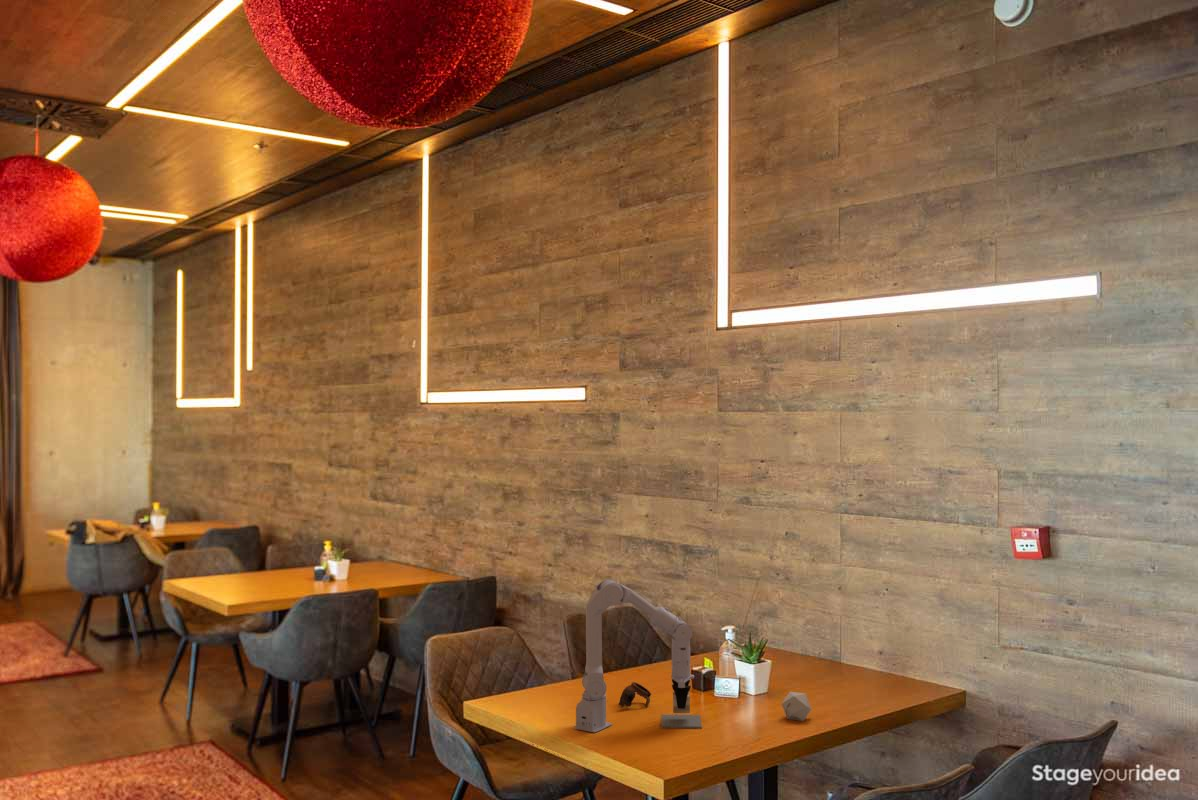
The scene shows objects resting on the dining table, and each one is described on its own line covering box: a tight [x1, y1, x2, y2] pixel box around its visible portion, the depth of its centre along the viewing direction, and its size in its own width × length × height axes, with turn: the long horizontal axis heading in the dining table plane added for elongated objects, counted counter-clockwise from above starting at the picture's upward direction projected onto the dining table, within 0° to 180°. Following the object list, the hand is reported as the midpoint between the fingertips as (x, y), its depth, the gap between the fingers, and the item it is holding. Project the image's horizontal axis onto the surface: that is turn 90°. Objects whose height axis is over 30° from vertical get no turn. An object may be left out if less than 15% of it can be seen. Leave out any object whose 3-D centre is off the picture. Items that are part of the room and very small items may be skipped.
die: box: [781, 691, 813, 722], centre depth 307 cm, size 8×9×10 cm
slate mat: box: [661, 714, 703, 730], centre depth 303 cm, size 12×12×1 cm
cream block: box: [672, 691, 691, 714], centre depth 303 cm, size 5×5×5 cm
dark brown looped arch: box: [618, 681, 652, 708], centre depth 321 cm, size 12×10×8 cm
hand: (681, 705), depth 303 cm, fingers closed on cream block, 5 cm apart
